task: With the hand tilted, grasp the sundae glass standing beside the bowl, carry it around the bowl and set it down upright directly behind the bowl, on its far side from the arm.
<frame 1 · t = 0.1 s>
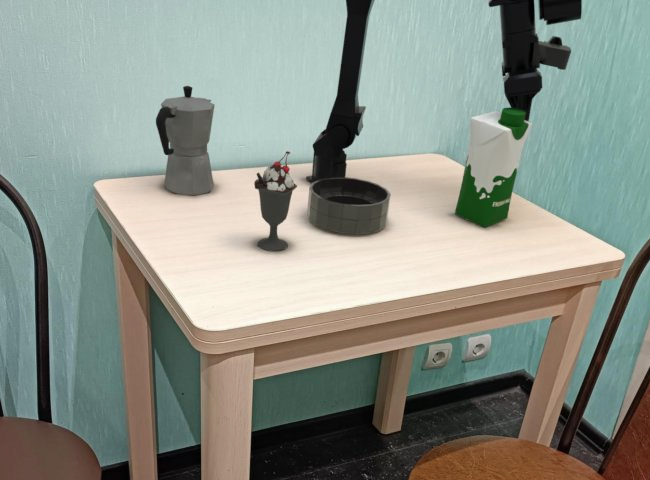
hand: (523, 122, 139), 16 cm above the table, tool tilted 15°, fingers open, 8 cm apart
milk carton: (480, 217, 142), on the table, touching gripper
coffeepot: (185, 189, 141), on the table
sundae: (272, 245, 123), on the table
bowl: (346, 220, 135), on the table
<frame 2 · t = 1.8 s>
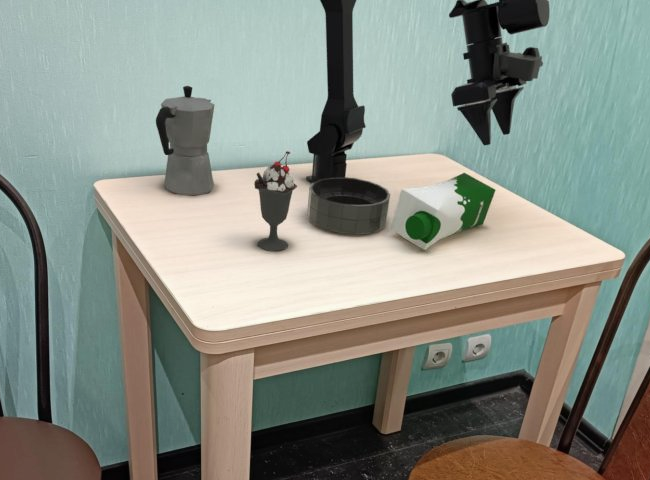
hand: (497, 139, 129), 16 cm above the table, tool tilted 20°, fingers open, 9 cm apart
milk carton: (474, 198, 137), point 5 cm above the table
everything else where it was.
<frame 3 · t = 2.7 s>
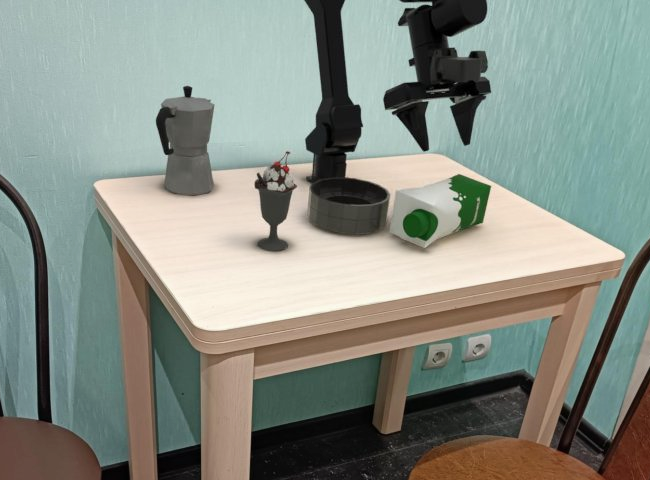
hand: (447, 148, 123), 16 cm above the table, tool tilted 30°, fingers open, 9 cm apart
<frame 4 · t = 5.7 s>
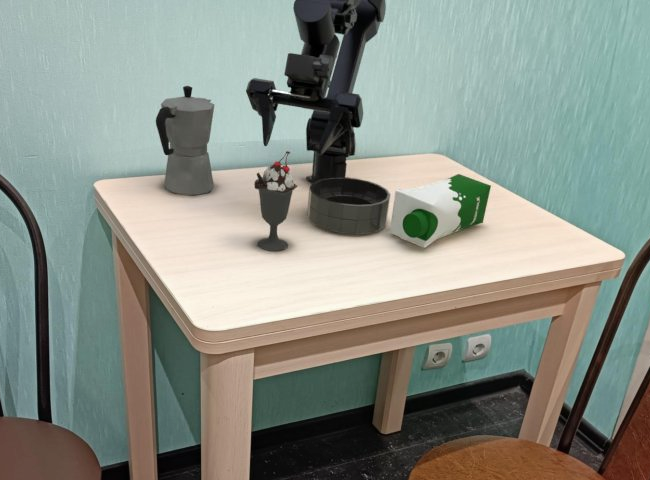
hand: (292, 149, 122), 14 cm above the table, tool tilted 45°, fingers open, 9 cm apart
nothing on the table moved.
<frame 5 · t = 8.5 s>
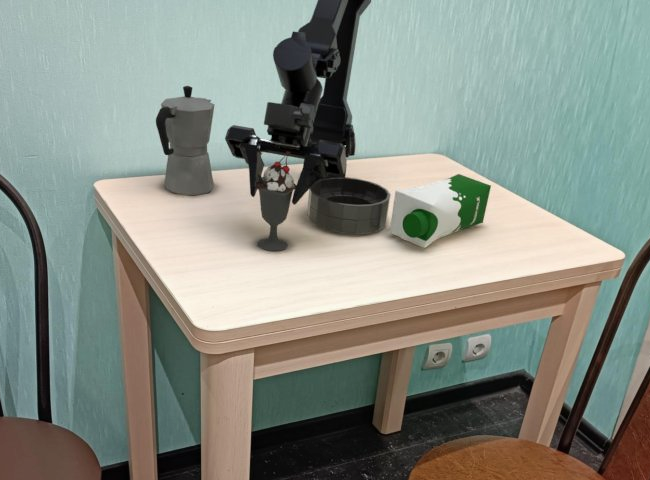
hand: (272, 199, 118), 8 cm above the table, tool tilted 45°, fingers closed on sundae, 6 cm apart
sundae: (272, 246, 123), on the table, touching gripper
everything else where it was.
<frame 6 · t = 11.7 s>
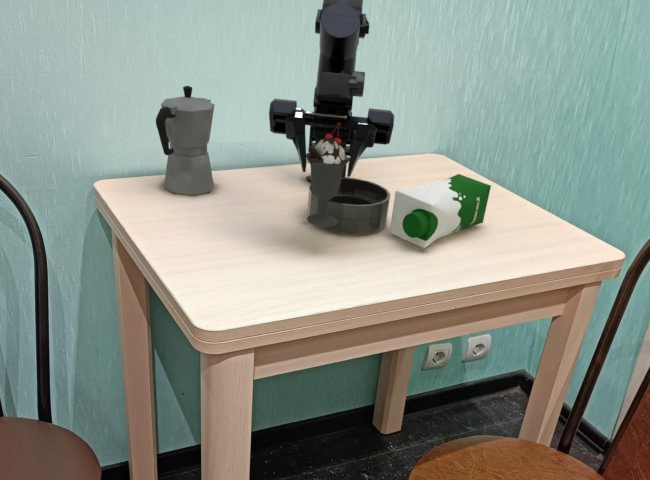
hand: (326, 173, 114), 13 cm above the table, tool tilted 45°, fingers closed on sundae, 6 cm apart
sundae: (322, 221, 120), point 5 cm above the table, touching gripper
everything else where it was.
when the fingers open (8 cm above the table, at t = 14.9 s): sundae stays where it is, on the table.
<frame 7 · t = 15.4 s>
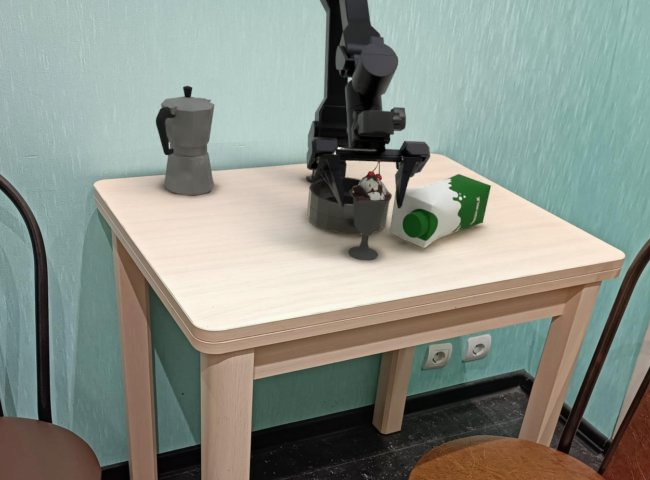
hand: (371, 206, 118), 9 cm above the table, tool tilted 45°, fingers open, 9 cm apart
sundae: (362, 254, 124), on the table
everything else where it was.
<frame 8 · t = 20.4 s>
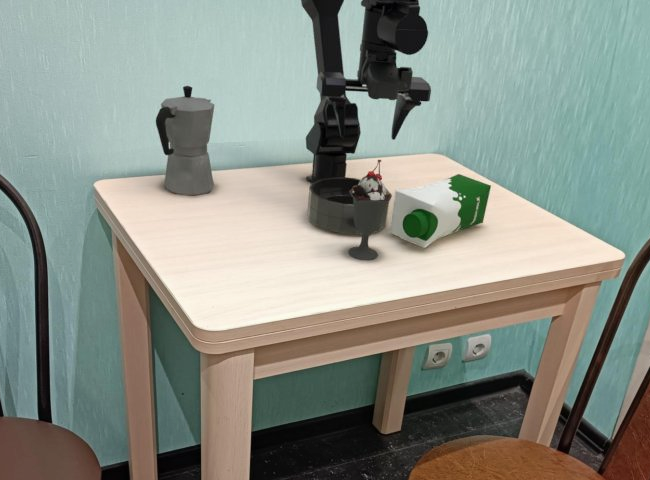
hand: (367, 138, 133), 13 cm above the table, tool pointing down, fingers open, 9 cm apart
nothing on the table moved.
at the end: sundae inside the target area on the table beside the bowl (0.3 cm from its centre), on the table; sundae tilted 0°; the gripper is holding nothing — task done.
